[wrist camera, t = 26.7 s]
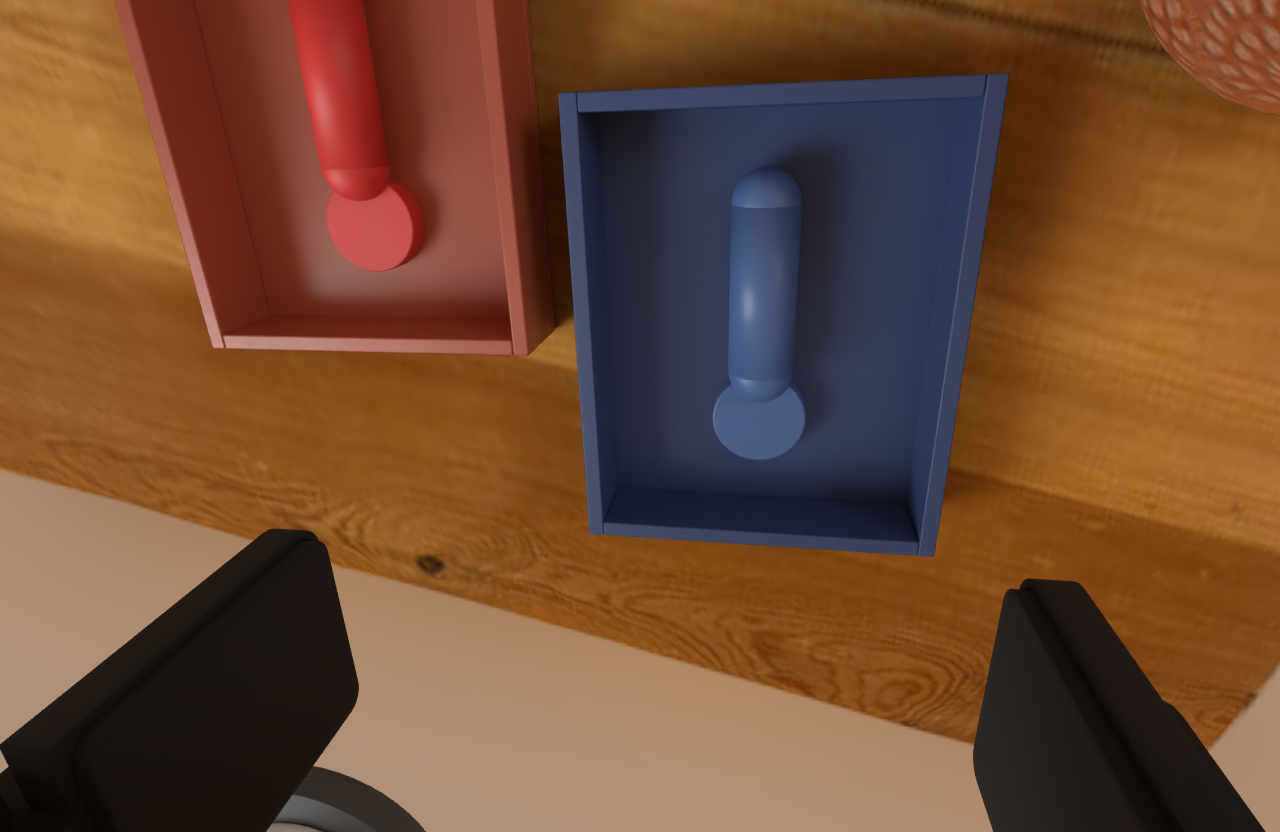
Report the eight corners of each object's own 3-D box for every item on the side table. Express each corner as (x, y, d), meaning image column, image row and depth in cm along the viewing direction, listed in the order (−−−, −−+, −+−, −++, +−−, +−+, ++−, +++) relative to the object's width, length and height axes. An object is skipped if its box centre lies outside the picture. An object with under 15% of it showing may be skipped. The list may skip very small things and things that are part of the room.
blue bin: (607, 492, 31) (589, 534, 28) (584, 95, 25) (557, 92, 22) (916, 509, 29) (934, 557, 26) (977, 78, 23) (1010, 72, 19)
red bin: (269, 325, 31) (212, 348, 28) (159, -120, 25) (68, -155, 21) (555, 329, 29) (528, 356, 25) (515, -159, 22) (472, -205, 19)
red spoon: (287, -53, 24) (240, -69, 22) (382, -61, 24) (343, -79, 21) (349, 267, 29) (315, 279, 26) (431, 267, 28) (402, 279, 26)
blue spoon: (716, 165, 25) (711, 170, 22) (820, 163, 24) (826, 167, 22) (713, 448, 29) (709, 474, 27) (802, 452, 28) (805, 480, 26)
